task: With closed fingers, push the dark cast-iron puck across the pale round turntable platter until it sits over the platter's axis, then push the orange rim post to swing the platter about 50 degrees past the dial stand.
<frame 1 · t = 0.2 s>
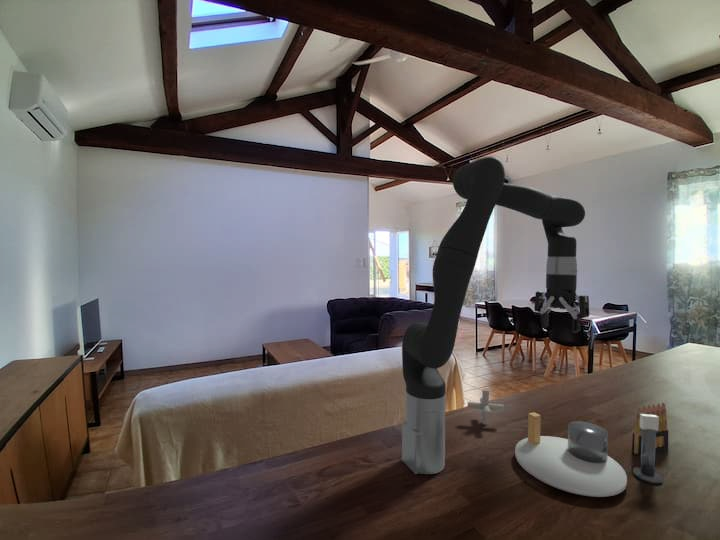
hand: (559, 329, 99), 29 cm above the kitchen counter, fingers open, 8 cm apart
platter: (567, 447, 80), point 5 cm above the kitchen counter, hinge at 0.0°, touching cover
cover: (587, 453, 83), point 2 cm above the kitchen counter, touching platter
dial stand: (647, 477, 78), on the kitchen counter
ammunition clip: (650, 451, 89), on the kitchen counter
pipe connector: (485, 423, 103), on the kitchen counter
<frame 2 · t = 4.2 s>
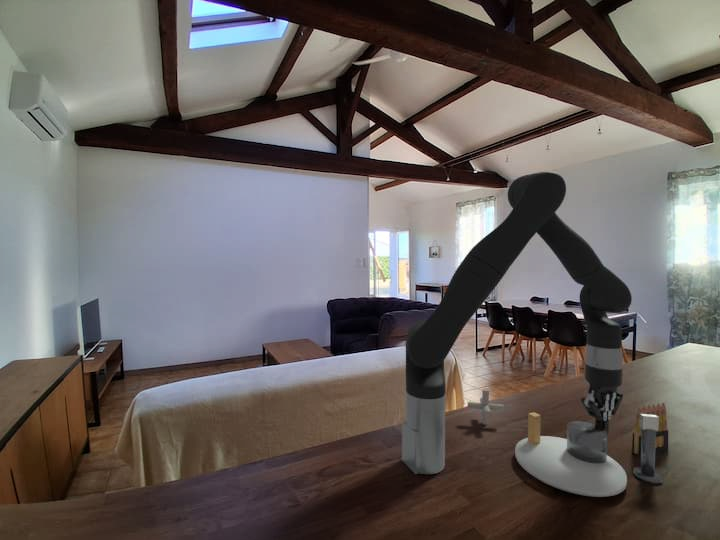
hand: (601, 433, 86), 6 cm above the kitchen counter, fingers closed
platter: (567, 447, 80), point 5 cm above the kitchen counter, hinge at 0.0°
cover: (586, 453, 83), point 2 cm above the kitchen counter, touching gripper
everything else where it was.
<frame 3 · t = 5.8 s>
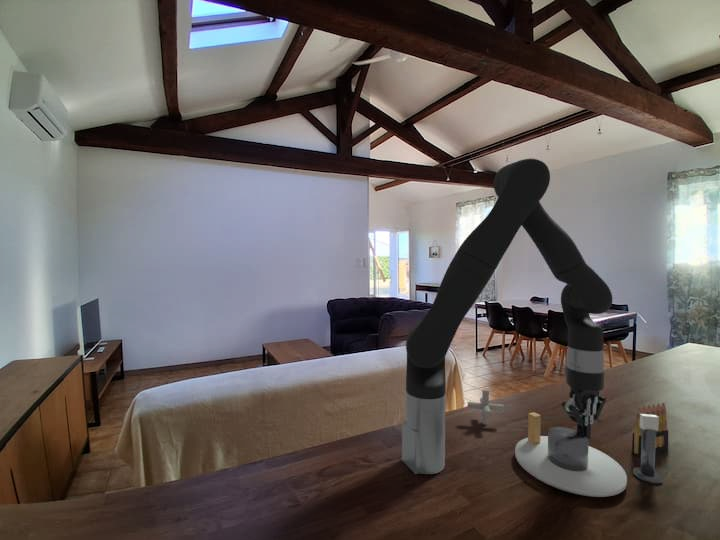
hand: (583, 438, 83), 6 cm above the kitchen counter, fingers closed
platter: (567, 447, 80), point 5 cm above the kitchen counter, hinge at -0.1°, touching cover
cover: (567, 460, 80), point 2 cm above the kitchen counter, touching gripper, platter
everything else where it was.
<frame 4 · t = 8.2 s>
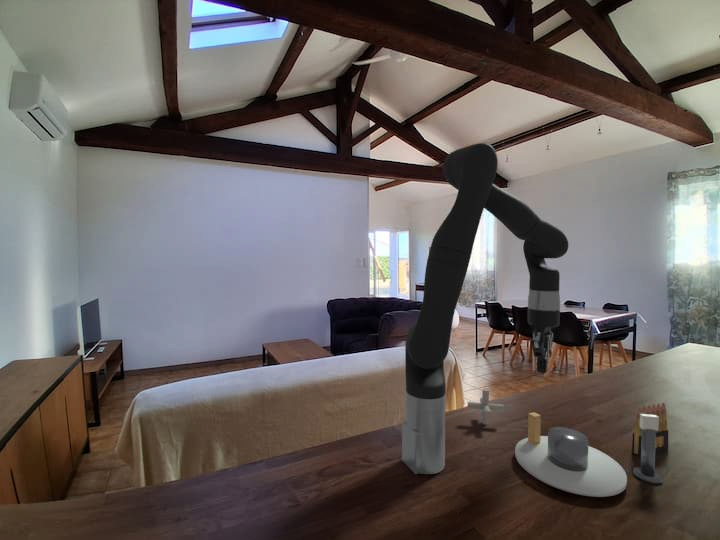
hand: (542, 371, 93), 19 cm above the kitchen counter, fingers closed
cover: (567, 460, 80), point 2 cm above the kitchen counter, touching platter
everything else where it was.
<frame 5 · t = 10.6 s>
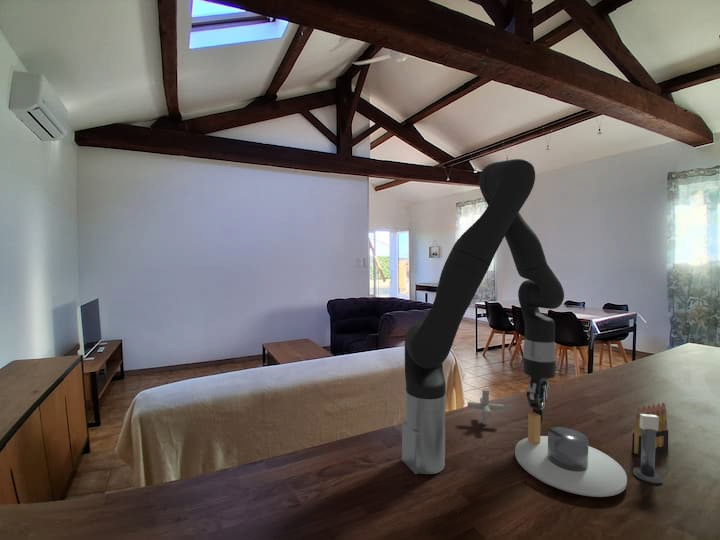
hand: (537, 421, 92), 6 cm above the kitchen counter, fingers closed
platter: (567, 447, 80), point 5 cm above the kitchen counter, hinge at 0.0°, touching cover, gripper
everything else where it was.
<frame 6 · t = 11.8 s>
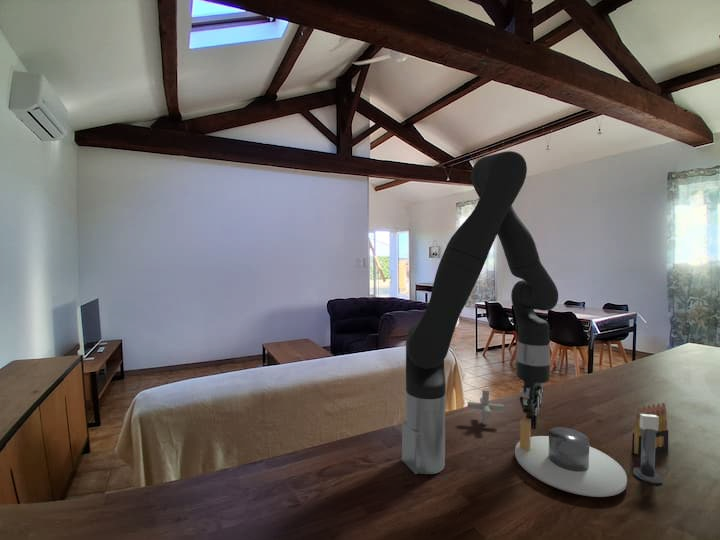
hand: (531, 427, 88), 6 cm above the kitchen counter, fingers closed
platter: (567, 447, 80), point 5 cm above the kitchen counter, hinge at 29.7°, touching cover, gripper
everything else where it was.
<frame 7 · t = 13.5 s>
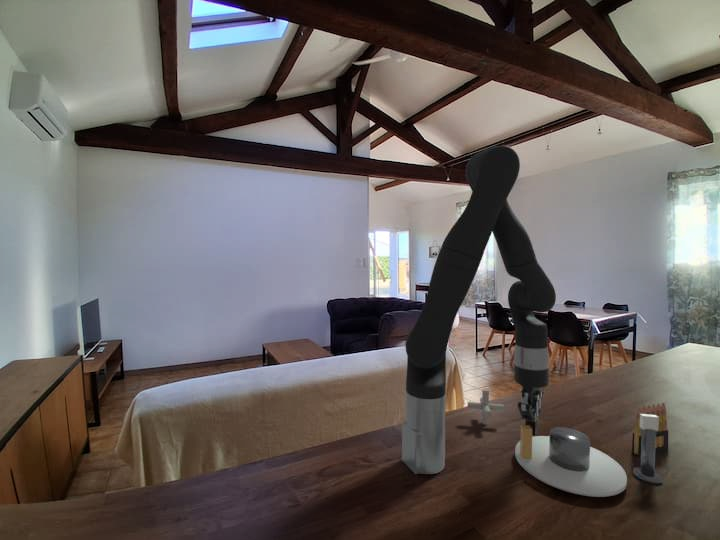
hand: (531, 433, 85), 6 cm above the kitchen counter, fingers closed
platter: (567, 447, 80), point 5 cm above the kitchen counter, hinge at 56.9°, touching cover, gripper
everything else where it was.
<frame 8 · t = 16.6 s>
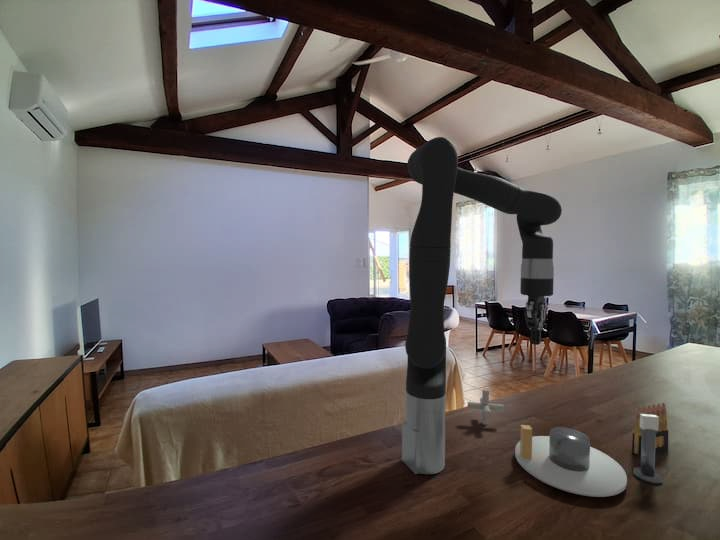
hand: (535, 343, 89), 27 cm above the kitchen counter, fingers closed
platter: (567, 447, 80), point 5 cm above the kitchen counter, hinge at 57.0°, touching cover
everything else where it was.
at the end: cover 0.4 cm from the platter (horizontally); platter at +57° (first picture: +0°); cover tilted 0° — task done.
